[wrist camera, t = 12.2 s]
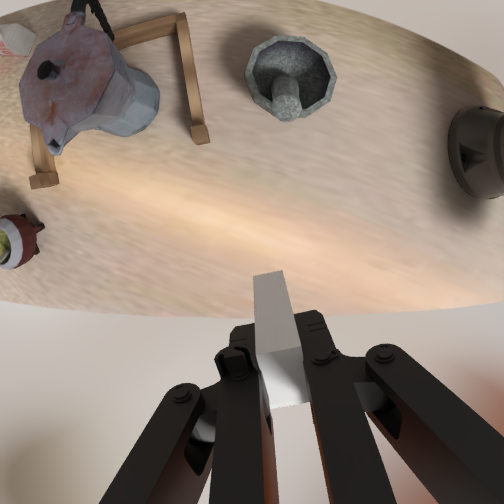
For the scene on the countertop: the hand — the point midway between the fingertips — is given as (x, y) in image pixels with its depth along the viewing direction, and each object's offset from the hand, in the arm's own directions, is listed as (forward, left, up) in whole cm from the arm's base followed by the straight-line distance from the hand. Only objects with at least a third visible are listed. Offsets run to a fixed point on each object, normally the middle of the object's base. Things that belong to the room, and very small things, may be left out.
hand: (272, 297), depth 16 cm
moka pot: (+21, -7, -24) cm, 33 cm away
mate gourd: (+27, +16, -24) cm, 39 cm away
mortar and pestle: (+5, -16, -24) cm, 29 cm away
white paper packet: (+46, -8, -24) cm, 52 cm away
